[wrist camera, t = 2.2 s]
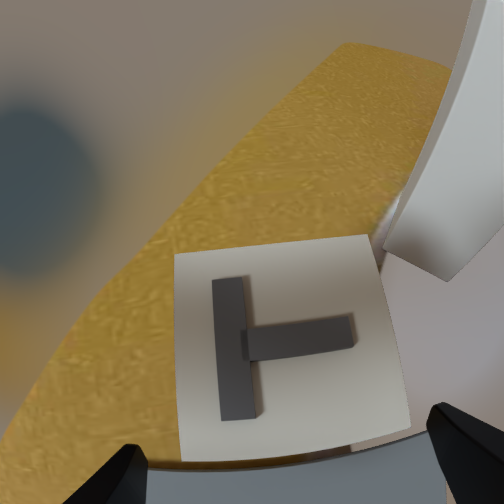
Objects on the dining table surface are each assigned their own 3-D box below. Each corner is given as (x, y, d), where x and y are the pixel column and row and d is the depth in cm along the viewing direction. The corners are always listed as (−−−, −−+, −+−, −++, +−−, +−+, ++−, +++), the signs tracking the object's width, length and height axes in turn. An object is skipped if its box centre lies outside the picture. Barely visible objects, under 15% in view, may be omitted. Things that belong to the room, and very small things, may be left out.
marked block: (320, 421, 16) (414, 427, 5) (235, 431, 16) (179, 462, 5) (309, 343, 19) (369, 229, 8) (228, 353, 19) (172, 250, 8)
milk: (399, 196, 24) (481, -61, 5) (459, 227, 22) (575, -3, 3) (380, 251, 22) (496, -71, 3) (448, 285, 20) (621, 20, 1)
